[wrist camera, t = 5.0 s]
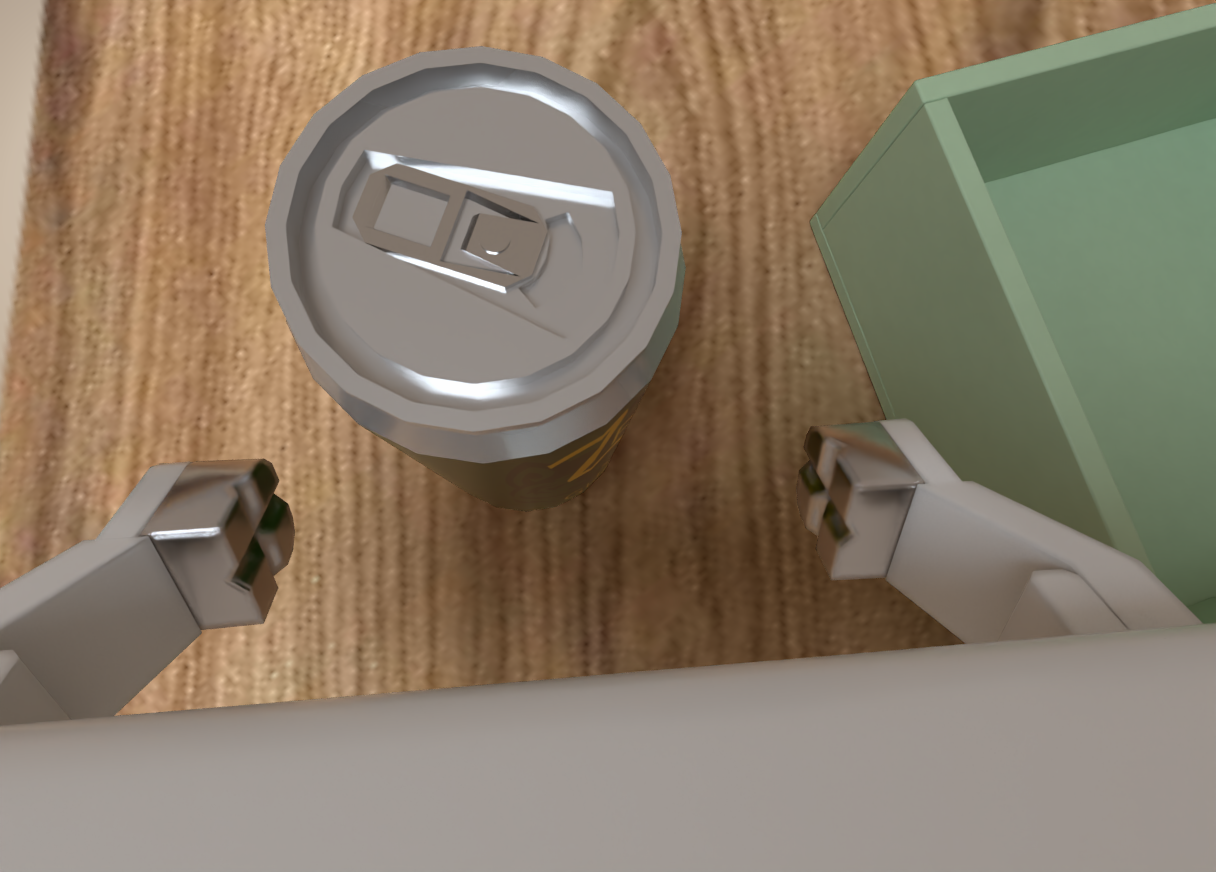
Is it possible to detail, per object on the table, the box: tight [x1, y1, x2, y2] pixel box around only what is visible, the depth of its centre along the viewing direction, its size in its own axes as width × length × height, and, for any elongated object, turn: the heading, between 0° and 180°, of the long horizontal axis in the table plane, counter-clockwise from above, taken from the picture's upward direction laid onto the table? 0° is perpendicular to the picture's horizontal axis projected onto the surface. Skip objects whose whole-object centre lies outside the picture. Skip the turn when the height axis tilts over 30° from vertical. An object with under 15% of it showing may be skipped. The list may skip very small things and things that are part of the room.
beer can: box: [265, 46, 686, 512], centre depth 14 cm, size 5×5×12 cm
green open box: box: [810, 3, 1216, 624], centre depth 18 cm, size 15×15×7 cm
